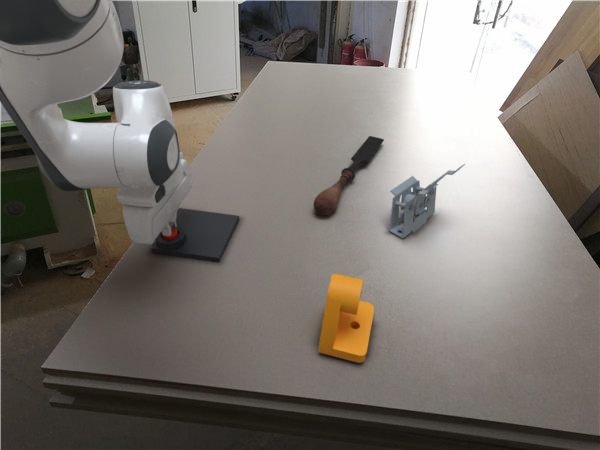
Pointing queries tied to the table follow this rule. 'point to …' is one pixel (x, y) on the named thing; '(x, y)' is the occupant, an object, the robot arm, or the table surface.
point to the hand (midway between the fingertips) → (169, 231)
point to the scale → (198, 235)
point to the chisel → (346, 176)
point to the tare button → (173, 235)
